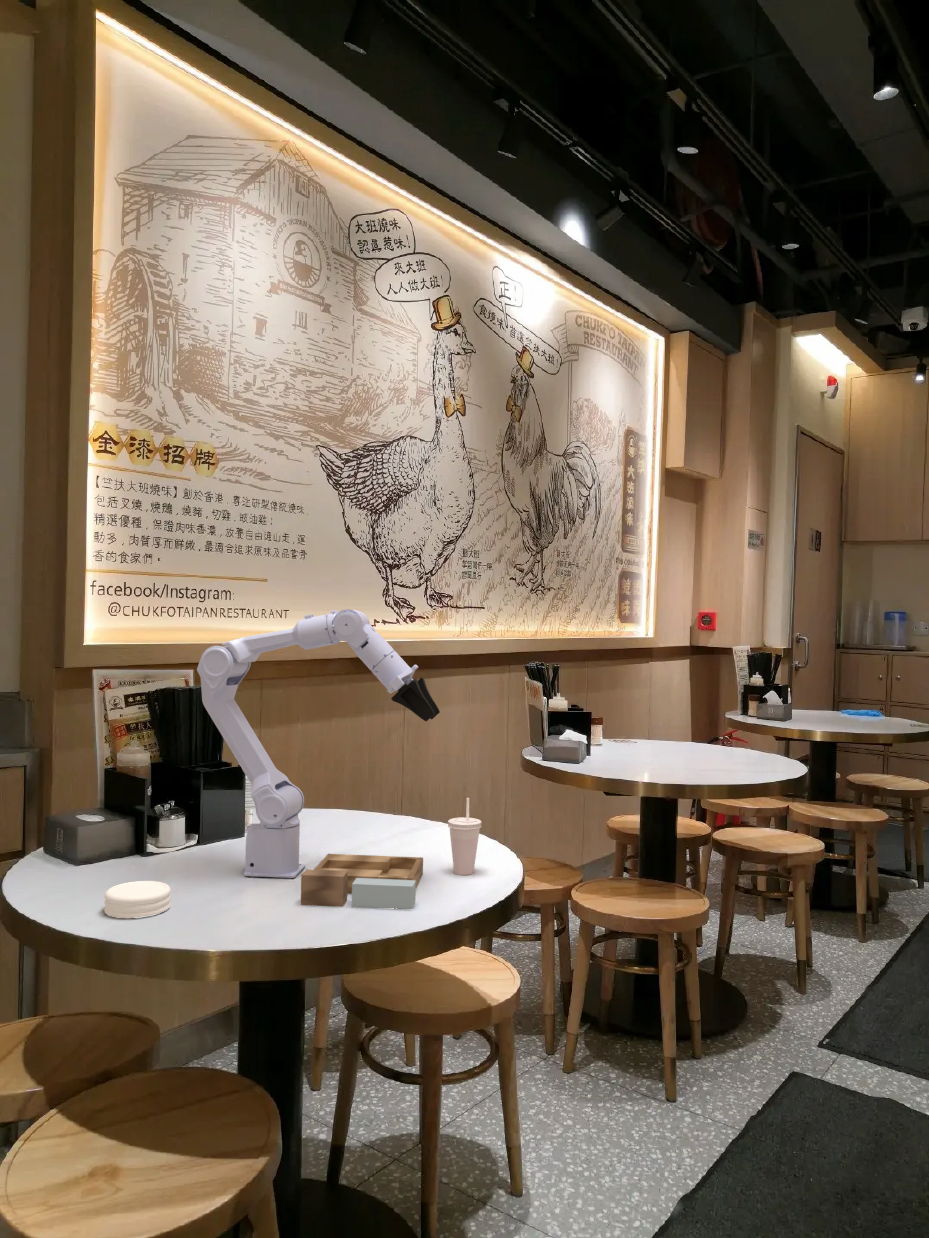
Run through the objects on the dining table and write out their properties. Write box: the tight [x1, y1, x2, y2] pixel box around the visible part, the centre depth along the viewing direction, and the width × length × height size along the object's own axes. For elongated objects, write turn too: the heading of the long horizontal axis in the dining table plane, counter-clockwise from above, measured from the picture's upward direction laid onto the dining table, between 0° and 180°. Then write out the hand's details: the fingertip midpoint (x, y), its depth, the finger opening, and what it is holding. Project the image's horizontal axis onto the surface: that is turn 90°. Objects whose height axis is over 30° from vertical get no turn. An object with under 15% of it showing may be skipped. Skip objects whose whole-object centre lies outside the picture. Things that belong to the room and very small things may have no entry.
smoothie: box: [447, 797, 482, 876], centre depth 167 cm, size 6×6×14 cm
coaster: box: [103, 880, 172, 918], centre depth 142 cm, size 10×10×4 cm
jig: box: [313, 853, 424, 894], centre depth 159 cm, size 18×14×3 cm
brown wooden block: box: [300, 868, 348, 908], centre depth 147 cm, size 7×3×5 cm, turn 85°
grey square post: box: [351, 878, 417, 910], centre depth 146 cm, size 4×10×4 cm, turn 85°
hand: (433, 716), depth 160 cm, fingers open, 7 cm apart
